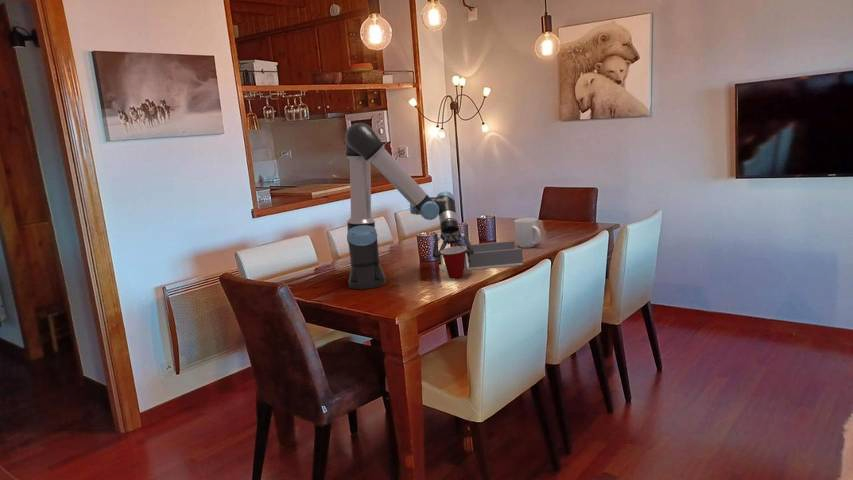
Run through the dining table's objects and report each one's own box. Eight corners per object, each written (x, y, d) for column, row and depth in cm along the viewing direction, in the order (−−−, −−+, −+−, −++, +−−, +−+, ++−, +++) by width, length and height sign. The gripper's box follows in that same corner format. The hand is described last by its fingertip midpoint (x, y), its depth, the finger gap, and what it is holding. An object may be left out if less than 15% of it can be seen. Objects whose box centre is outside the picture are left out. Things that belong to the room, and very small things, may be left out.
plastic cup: (438, 276, 243) (436, 248, 240) (463, 272, 246) (460, 244, 244) (447, 282, 233) (445, 253, 230) (472, 278, 236) (470, 249, 233)
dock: (467, 270, 249) (465, 254, 248) (462, 260, 267) (461, 245, 266) (523, 264, 250) (522, 248, 249) (514, 255, 268) (513, 240, 266)
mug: (549, 246, 280) (548, 219, 277) (532, 251, 274) (530, 223, 271) (527, 243, 292) (526, 217, 290) (510, 247, 286) (509, 220, 284)
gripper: (474, 227, 251) (482, 271, 239) (423, 231, 251) (428, 276, 238) (475, 216, 245) (483, 262, 233) (422, 221, 244) (427, 267, 232)
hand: (455, 269), depth 235 cm, fingers closed on plastic cup, 9 cm apart
